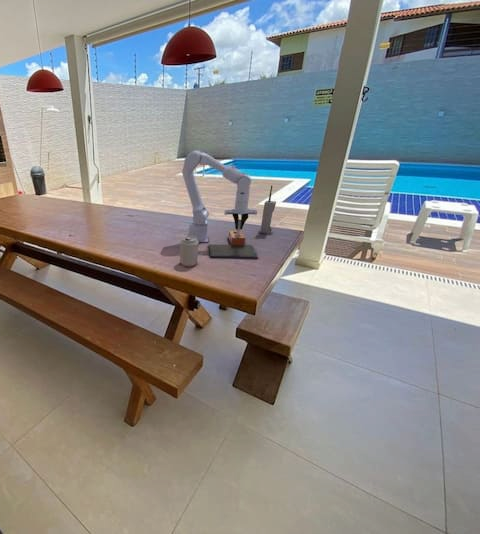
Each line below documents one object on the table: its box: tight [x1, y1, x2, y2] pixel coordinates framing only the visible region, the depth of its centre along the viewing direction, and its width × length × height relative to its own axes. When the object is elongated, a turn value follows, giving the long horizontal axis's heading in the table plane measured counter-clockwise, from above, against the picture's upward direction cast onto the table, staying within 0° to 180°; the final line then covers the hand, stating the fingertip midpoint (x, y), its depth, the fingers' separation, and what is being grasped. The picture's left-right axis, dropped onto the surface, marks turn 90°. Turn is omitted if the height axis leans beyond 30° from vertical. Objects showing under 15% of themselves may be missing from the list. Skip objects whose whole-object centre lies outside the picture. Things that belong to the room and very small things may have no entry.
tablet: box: [208, 243, 259, 260], centre depth 143 cm, size 20×14×1 cm
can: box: [179, 235, 200, 267], centre depth 132 cm, size 8×8×12 cm
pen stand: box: [228, 230, 246, 245], centre depth 154 cm, size 6×11×4 cm, turn 169°
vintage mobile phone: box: [259, 184, 277, 235], centre depth 159 cm, size 4×5×25 cm
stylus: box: [236, 218, 241, 237], centre depth 150 cm, size 2×2×10 cm
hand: (238, 228), depth 150 cm, fingers closed on stylus, 1 cm apart
